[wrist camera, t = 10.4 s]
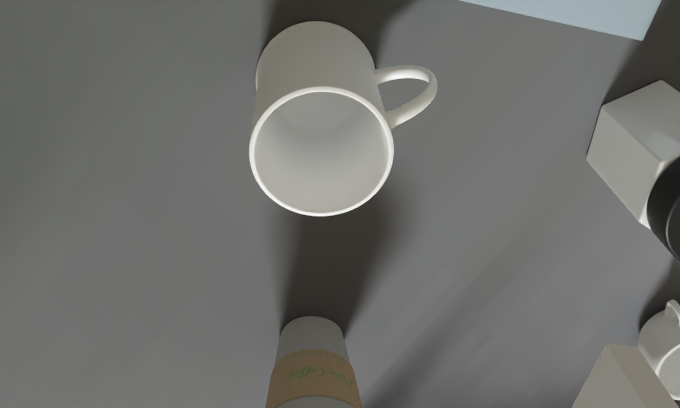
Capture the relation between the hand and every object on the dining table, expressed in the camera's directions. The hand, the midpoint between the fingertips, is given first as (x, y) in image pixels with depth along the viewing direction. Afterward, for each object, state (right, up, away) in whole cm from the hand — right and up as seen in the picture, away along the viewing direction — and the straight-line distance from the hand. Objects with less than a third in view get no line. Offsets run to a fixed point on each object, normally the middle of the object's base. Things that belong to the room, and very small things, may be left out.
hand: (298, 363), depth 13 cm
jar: (+24, +9, +36) cm, 45 cm away
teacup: (+31, -7, +47) cm, 57 cm away
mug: (+1, +13, +33) cm, 35 cm away
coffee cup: (-2, -9, +45) cm, 46 cm away
